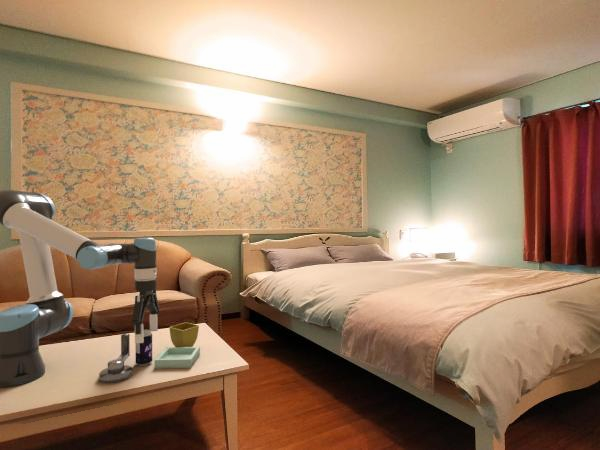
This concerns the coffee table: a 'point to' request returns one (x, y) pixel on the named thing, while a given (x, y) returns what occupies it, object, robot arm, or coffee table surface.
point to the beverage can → (144, 350)
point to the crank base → (115, 375)
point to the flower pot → (184, 334)
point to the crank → (118, 363)
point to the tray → (177, 357)
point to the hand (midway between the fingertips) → (146, 336)
